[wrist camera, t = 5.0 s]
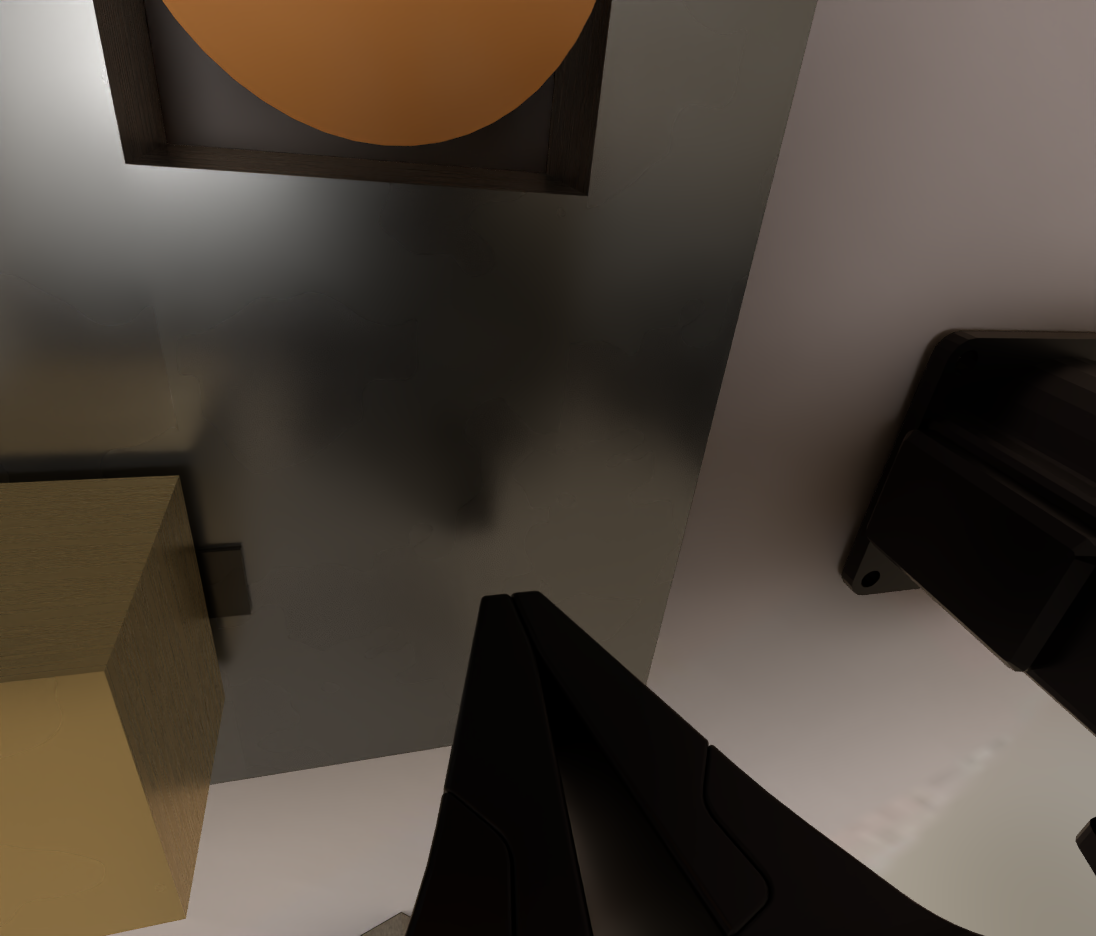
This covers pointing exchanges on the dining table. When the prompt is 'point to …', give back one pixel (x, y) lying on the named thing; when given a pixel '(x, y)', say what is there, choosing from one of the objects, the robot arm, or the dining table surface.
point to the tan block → (101, 706)
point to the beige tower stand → (391, 927)
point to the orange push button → (388, 59)
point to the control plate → (388, 353)
